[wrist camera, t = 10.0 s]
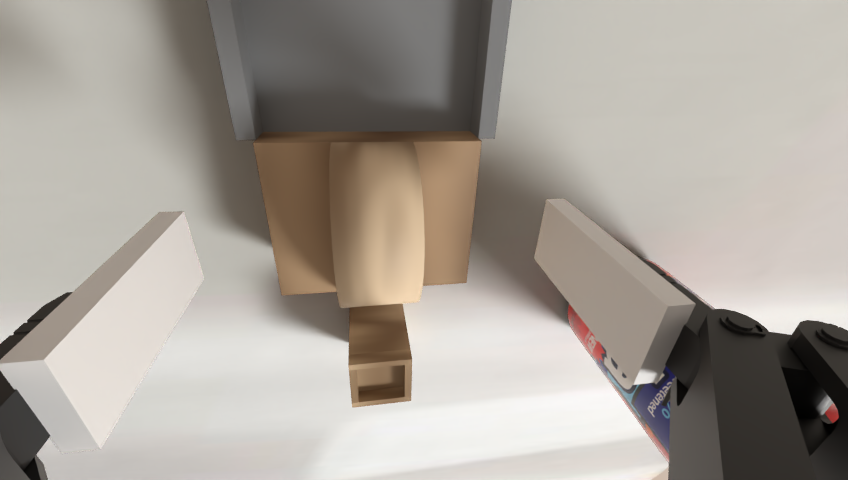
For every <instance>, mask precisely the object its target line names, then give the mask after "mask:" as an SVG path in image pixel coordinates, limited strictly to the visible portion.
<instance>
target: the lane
mask: <svg viewBox="0 0 848 480" xmlns="http://www.w3.org/2000/svg"><path fill="white" fill-rule="evenodd" d="M511 3H512V0H207V4H208V9H209V13H210V18H211V23H212V28H213V33H214V37H215V42H216V47H217V52H218V56H219V61H220V66H221V71H222V76H223V80H224V85H225V90H226V95H227V99H228V104H229V109H230V114H231V119H232V123H233V128H234V133H235V138H236V140H256V139H257V138H258V137H259V136H260V135H261V134H262V132H381V131H470V132H472V133H473V134H474V135H475V136H476V137H477V138H478V139H485V138H495V132H496V124H497V116H498V108H499V100H500V92H501V83H502V75H503V67H504V59H505V51H506V43H507V35H508V27H509V19H510V11H511Z"/></svg>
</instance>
